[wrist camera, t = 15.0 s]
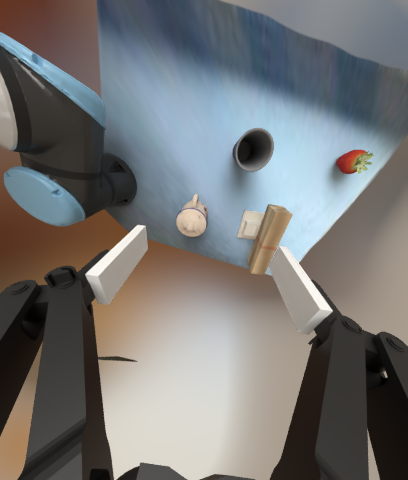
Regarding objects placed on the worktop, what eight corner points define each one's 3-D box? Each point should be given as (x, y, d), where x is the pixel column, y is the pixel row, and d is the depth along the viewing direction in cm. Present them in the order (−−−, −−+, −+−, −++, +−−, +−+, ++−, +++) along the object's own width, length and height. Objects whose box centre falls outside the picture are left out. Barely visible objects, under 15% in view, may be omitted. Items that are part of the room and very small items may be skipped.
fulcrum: (236, 235, 53) (239, 246, 47) (244, 209, 48) (248, 218, 42) (269, 240, 53) (275, 252, 47) (280, 215, 48) (289, 224, 42)
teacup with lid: (206, 226, 52) (203, 244, 42) (181, 222, 52) (172, 238, 42) (212, 192, 46) (211, 204, 36) (183, 187, 46) (174, 198, 36)
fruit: (346, 170, 40) (372, 175, 33) (325, 172, 40) (346, 176, 34) (354, 149, 37) (385, 148, 30) (332, 150, 38) (357, 150, 31)
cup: (260, 145, 38) (282, 143, 26) (244, 170, 42) (255, 178, 29) (240, 129, 37) (252, 118, 24) (224, 155, 40) (228, 158, 27)
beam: (247, 260, 50) (250, 273, 45) (268, 204, 39) (275, 212, 34) (259, 262, 50) (263, 275, 45) (283, 206, 39) (293, 214, 34)
